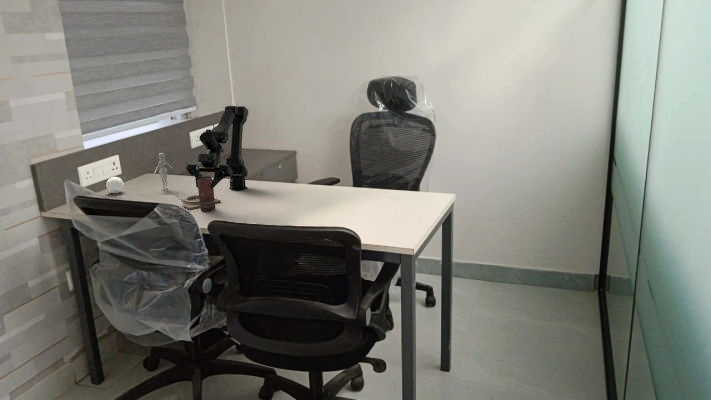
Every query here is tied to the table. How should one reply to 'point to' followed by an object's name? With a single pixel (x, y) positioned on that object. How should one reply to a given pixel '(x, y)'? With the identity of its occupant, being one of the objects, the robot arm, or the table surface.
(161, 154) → the human figurine
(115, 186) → the geometric ball
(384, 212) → the table surface
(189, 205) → the cup holder
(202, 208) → the can
